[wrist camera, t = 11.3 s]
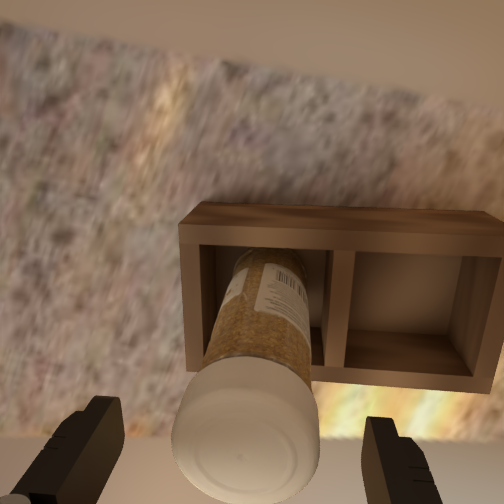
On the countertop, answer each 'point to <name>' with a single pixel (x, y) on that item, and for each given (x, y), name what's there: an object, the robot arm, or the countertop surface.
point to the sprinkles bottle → (253, 389)
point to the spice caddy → (364, 288)
